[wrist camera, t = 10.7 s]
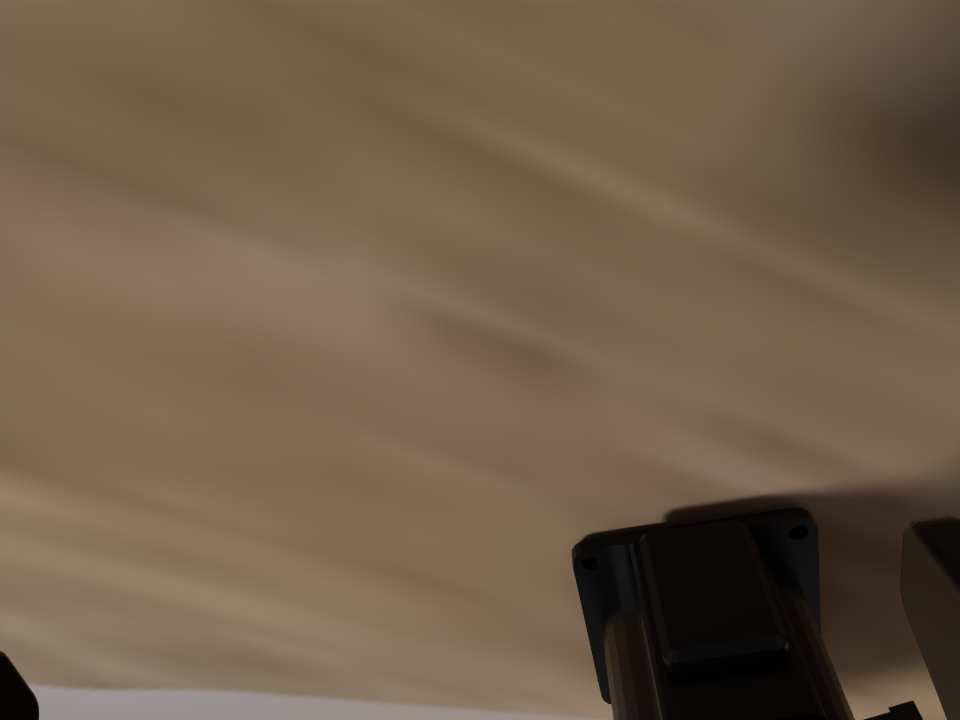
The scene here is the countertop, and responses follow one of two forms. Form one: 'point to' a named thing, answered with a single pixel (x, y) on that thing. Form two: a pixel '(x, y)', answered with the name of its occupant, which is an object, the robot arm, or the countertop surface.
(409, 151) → the countertop surface
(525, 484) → the countertop surface
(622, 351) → the countertop surface
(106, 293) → the countertop surface
